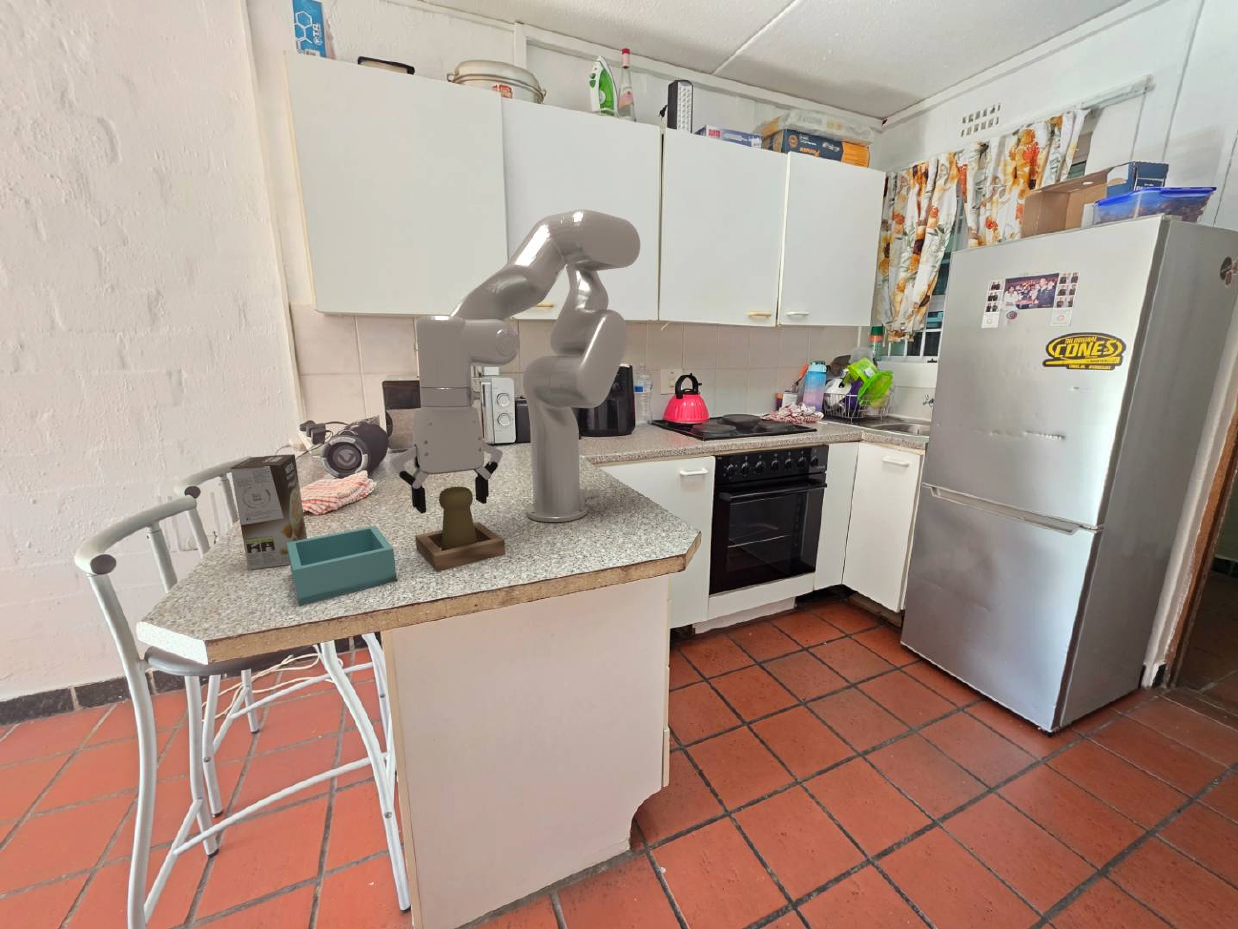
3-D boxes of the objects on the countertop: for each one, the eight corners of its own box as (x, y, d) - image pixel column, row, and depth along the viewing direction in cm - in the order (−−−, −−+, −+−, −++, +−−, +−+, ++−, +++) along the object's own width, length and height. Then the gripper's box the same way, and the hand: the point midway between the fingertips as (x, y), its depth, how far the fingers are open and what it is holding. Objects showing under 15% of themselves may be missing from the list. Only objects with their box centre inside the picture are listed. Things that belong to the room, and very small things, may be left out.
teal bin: (379, 554, 80) (375, 525, 79) (396, 580, 70) (393, 548, 69) (291, 574, 73) (286, 542, 72) (298, 606, 63) (292, 570, 62)
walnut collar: (479, 535, 88) (478, 522, 88) (505, 554, 80) (504, 540, 79) (416, 549, 82) (415, 535, 81) (436, 572, 73) (435, 556, 73)
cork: (468, 560, 77) (462, 494, 75) (433, 557, 78) (427, 492, 76) (485, 546, 83) (481, 484, 81) (453, 543, 84) (448, 482, 82)
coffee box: (296, 564, 76) (280, 464, 73) (247, 571, 74) (228, 468, 70) (309, 544, 84) (295, 453, 81) (265, 549, 82) (249, 456, 79)
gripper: (490, 397, 83) (494, 494, 86) (380, 399, 73) (388, 509, 76) (509, 399, 77) (512, 503, 80) (392, 402, 67) (400, 521, 70)
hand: (452, 506), depth 78 cm, fingers open, 9 cm apart
